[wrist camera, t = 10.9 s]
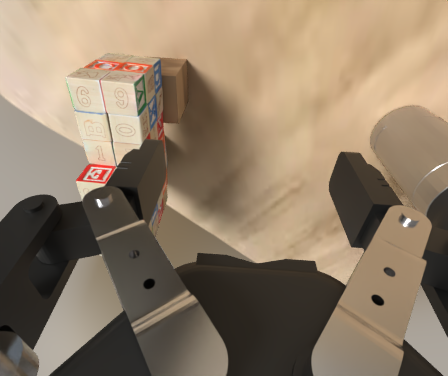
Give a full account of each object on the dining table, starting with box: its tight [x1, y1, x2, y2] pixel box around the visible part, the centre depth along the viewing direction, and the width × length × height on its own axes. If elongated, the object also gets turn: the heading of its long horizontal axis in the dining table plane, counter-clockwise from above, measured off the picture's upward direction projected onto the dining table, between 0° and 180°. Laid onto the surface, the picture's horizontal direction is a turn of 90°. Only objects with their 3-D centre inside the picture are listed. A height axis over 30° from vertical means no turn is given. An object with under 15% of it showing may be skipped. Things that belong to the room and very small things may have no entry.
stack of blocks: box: [66, 53, 168, 256], centre depth 32 cm, size 21×6×12 cm, turn 175°
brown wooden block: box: [149, 57, 188, 124], centre depth 37 cm, size 6×6×8 cm
